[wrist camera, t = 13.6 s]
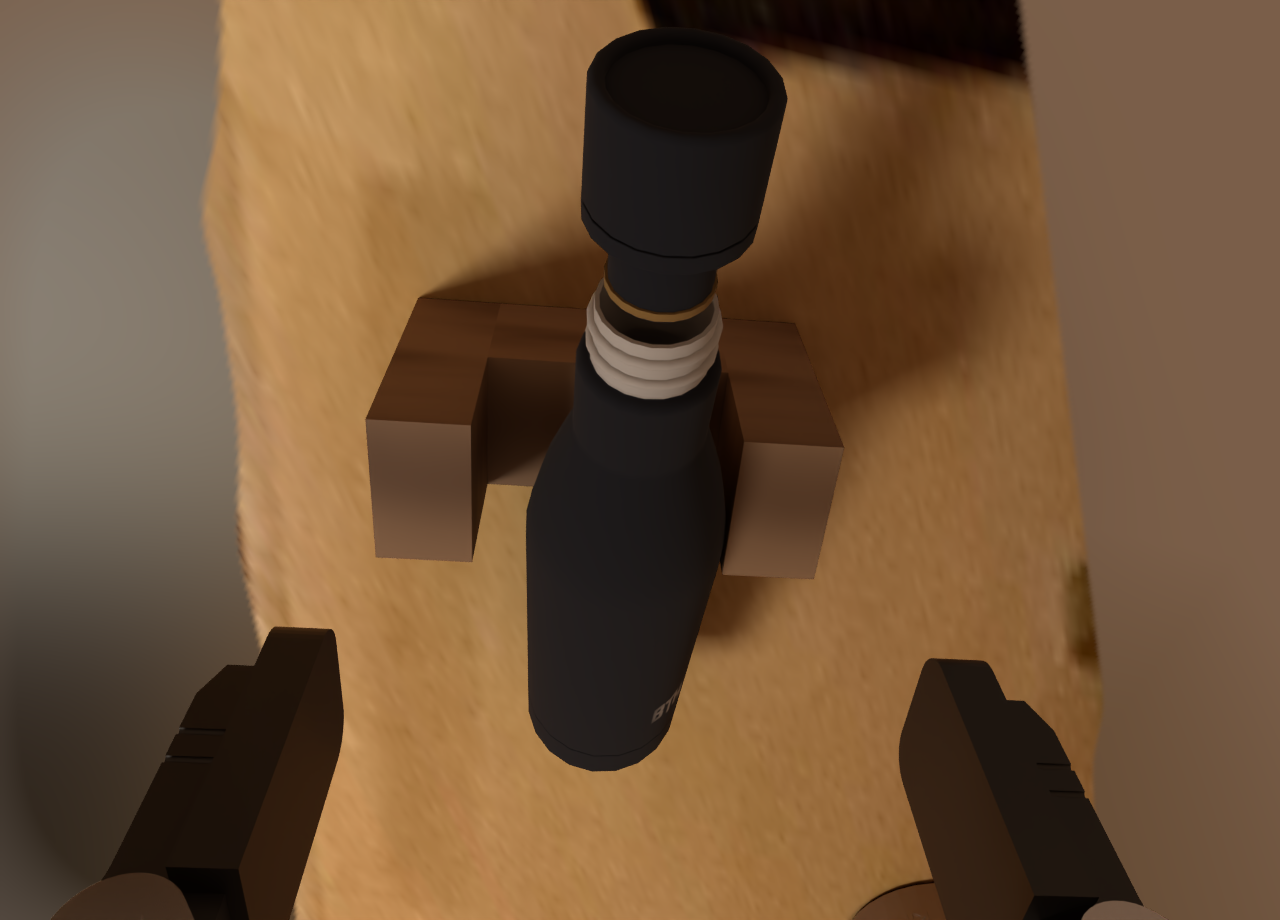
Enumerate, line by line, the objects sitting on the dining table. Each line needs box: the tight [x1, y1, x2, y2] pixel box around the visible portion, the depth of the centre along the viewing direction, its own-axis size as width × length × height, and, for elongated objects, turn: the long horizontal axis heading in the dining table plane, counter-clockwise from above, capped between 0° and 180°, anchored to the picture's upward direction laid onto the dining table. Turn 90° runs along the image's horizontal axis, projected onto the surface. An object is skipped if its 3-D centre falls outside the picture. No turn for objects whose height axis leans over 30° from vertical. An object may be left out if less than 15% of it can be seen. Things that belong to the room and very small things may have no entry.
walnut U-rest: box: [365, 298, 844, 579], centre depth 33 cm, size 5×14×9 cm, turn 85°
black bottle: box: [526, 27, 787, 771], centre depth 30 cm, size 6×6×30 cm
